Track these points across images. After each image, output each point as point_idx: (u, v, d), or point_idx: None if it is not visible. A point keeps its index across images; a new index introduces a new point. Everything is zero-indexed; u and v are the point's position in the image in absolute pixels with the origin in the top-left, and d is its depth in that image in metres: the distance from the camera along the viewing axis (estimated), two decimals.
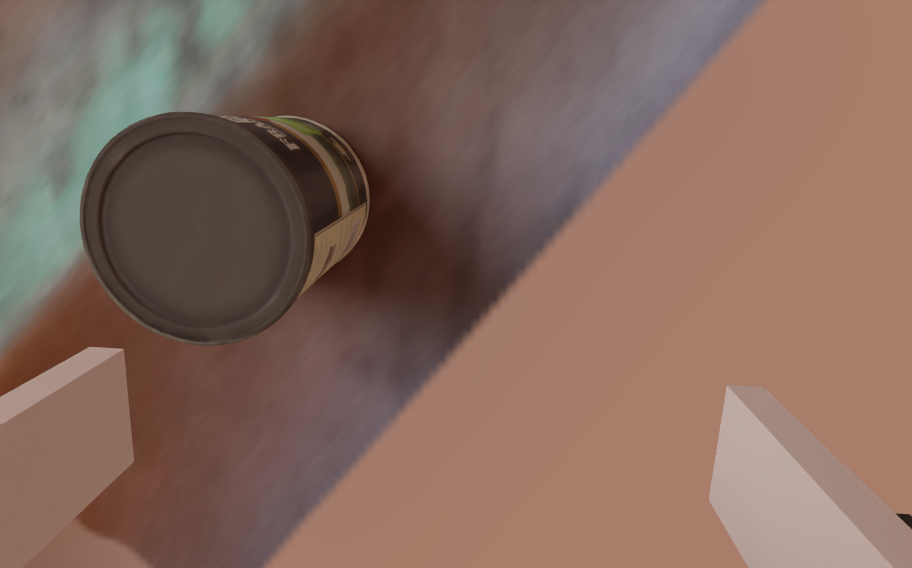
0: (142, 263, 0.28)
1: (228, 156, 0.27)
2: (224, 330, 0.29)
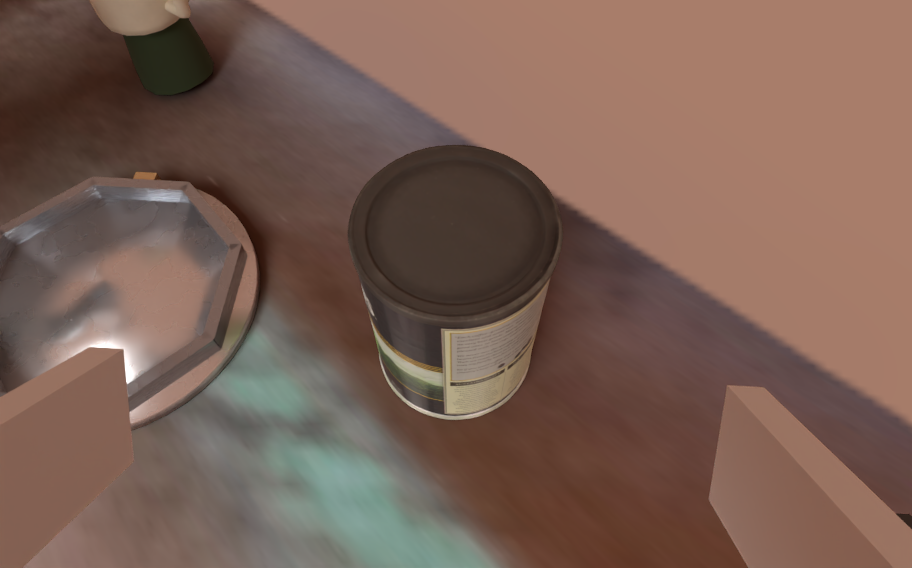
0: (483, 272, 0.29)
1: (389, 196, 0.31)
2: (546, 212, 0.31)
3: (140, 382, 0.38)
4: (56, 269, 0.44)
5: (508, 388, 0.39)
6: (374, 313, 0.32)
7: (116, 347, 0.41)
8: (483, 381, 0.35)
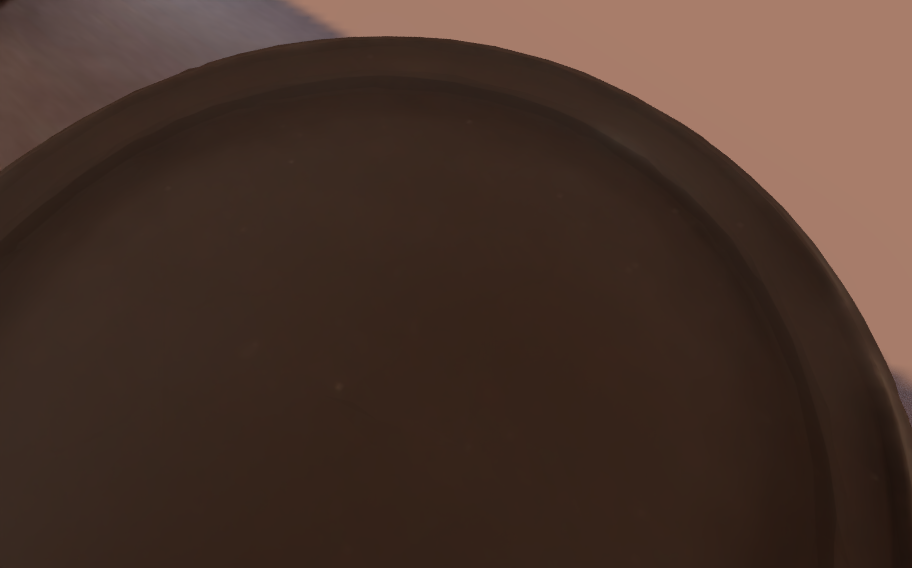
0: None
1: (67, 242, 0.07)
2: (800, 323, 0.06)
3: None
4: None
5: None
6: None
7: None
8: None
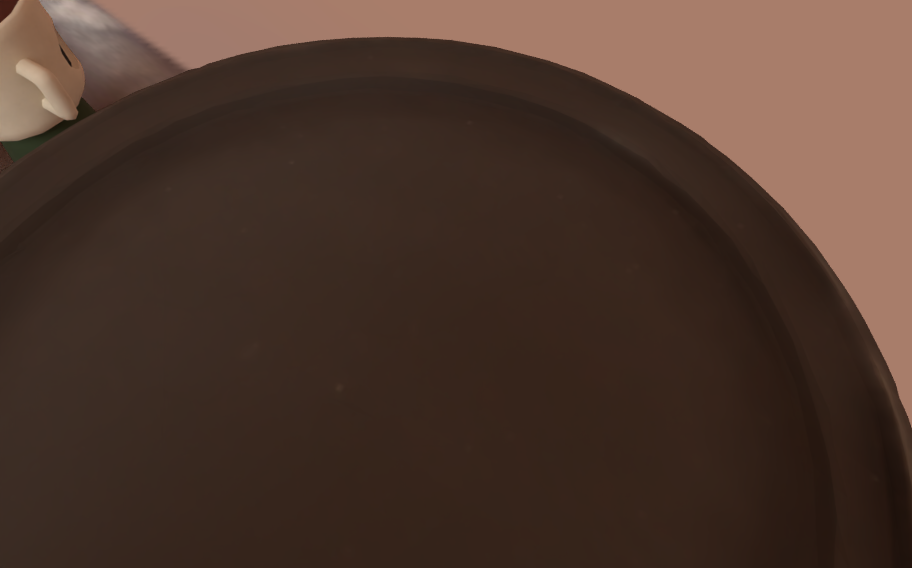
0: None
1: (67, 243, 0.07)
2: (800, 324, 0.06)
3: None
4: None
5: None
6: None
7: None
8: None
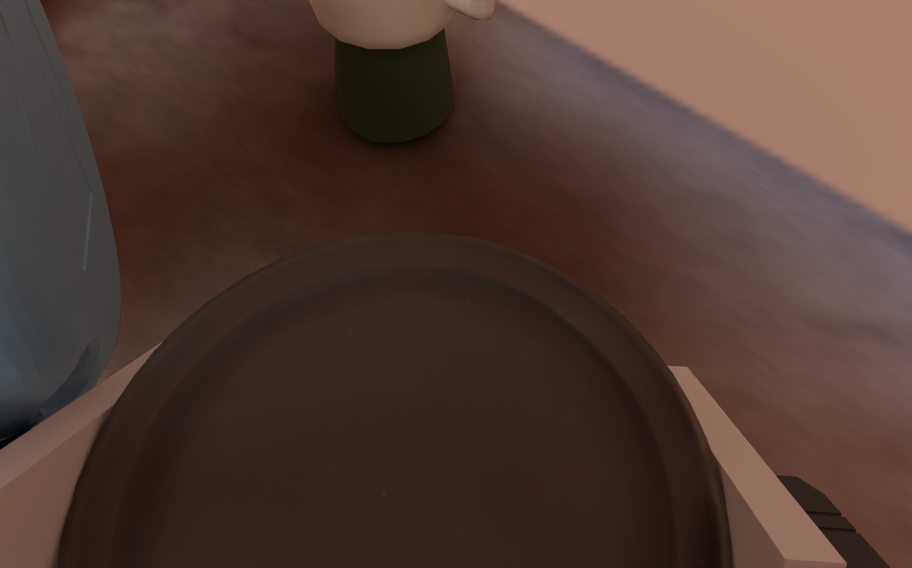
0: None
1: (211, 391, 0.11)
2: (672, 457, 0.10)
3: None
4: None
5: None
6: None
7: None
8: None
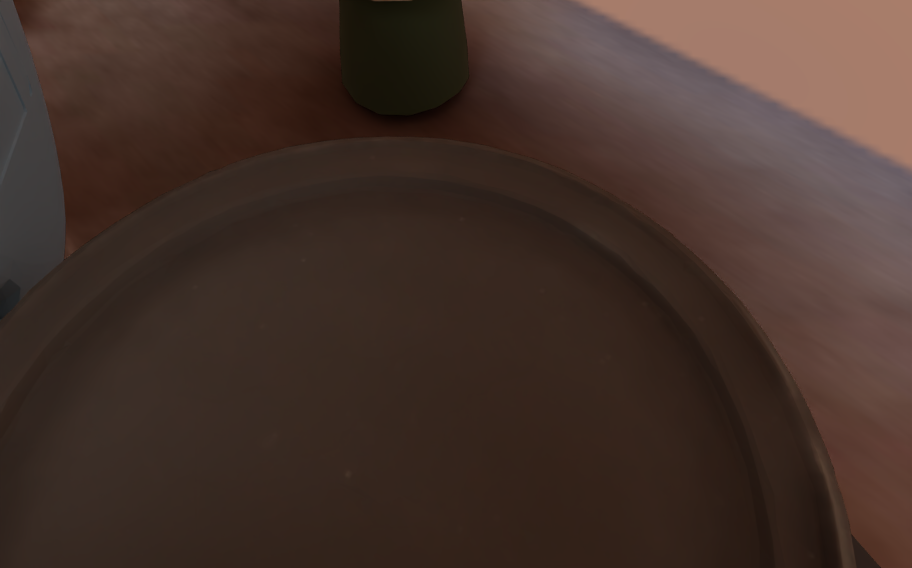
0: None
1: (109, 340, 0.08)
2: (752, 412, 0.07)
3: None
4: None
5: None
6: None
7: None
8: None
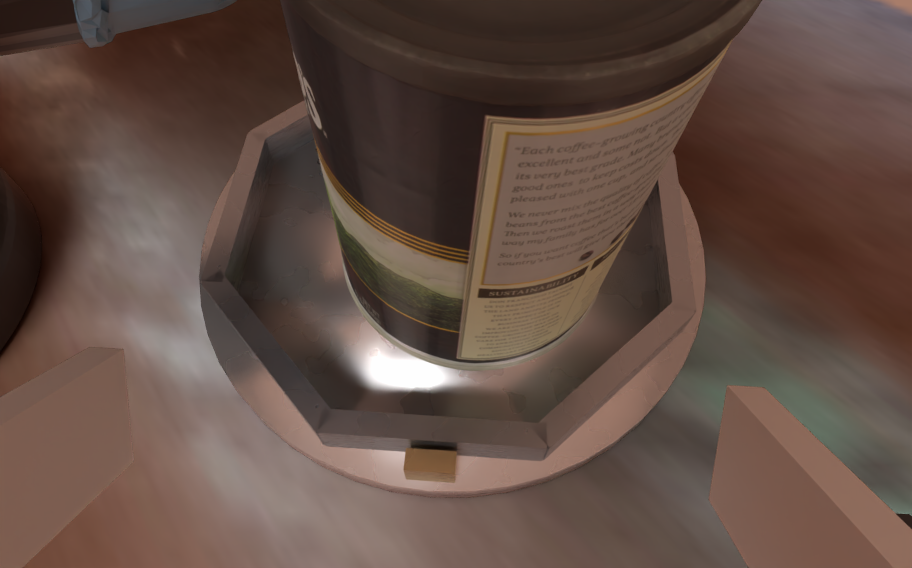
0: None
1: None
2: None
3: (592, 390, 0.21)
4: None
5: (574, 315, 0.21)
6: (321, 117, 0.14)
7: None
8: (543, 291, 0.18)
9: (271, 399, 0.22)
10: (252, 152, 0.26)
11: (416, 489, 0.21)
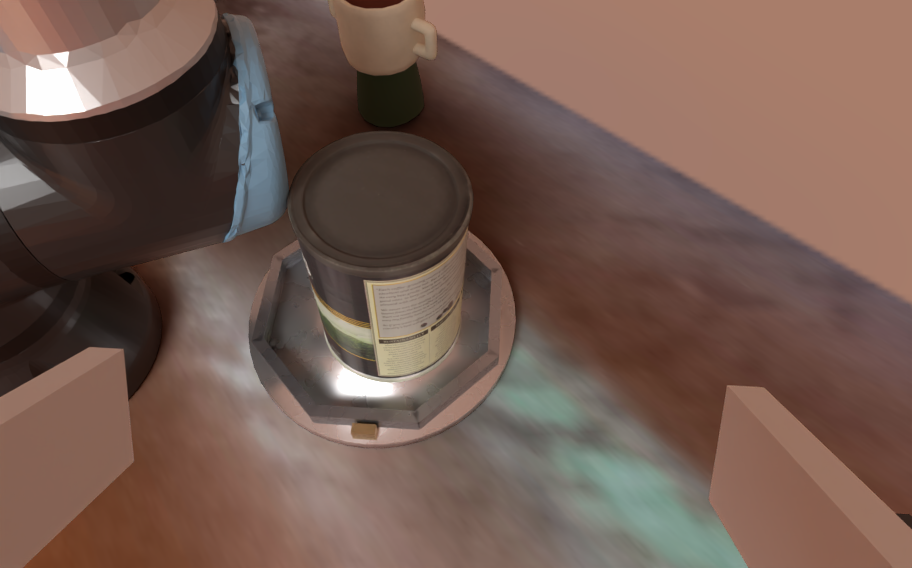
0: (401, 234, 0.34)
1: (326, 170, 0.36)
2: (460, 187, 0.36)
3: (442, 395, 0.43)
4: None
5: (435, 353, 0.43)
6: (310, 272, 0.37)
7: None
8: (409, 340, 0.40)
9: (287, 400, 0.44)
10: (275, 267, 0.48)
11: (358, 443, 0.43)
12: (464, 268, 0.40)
